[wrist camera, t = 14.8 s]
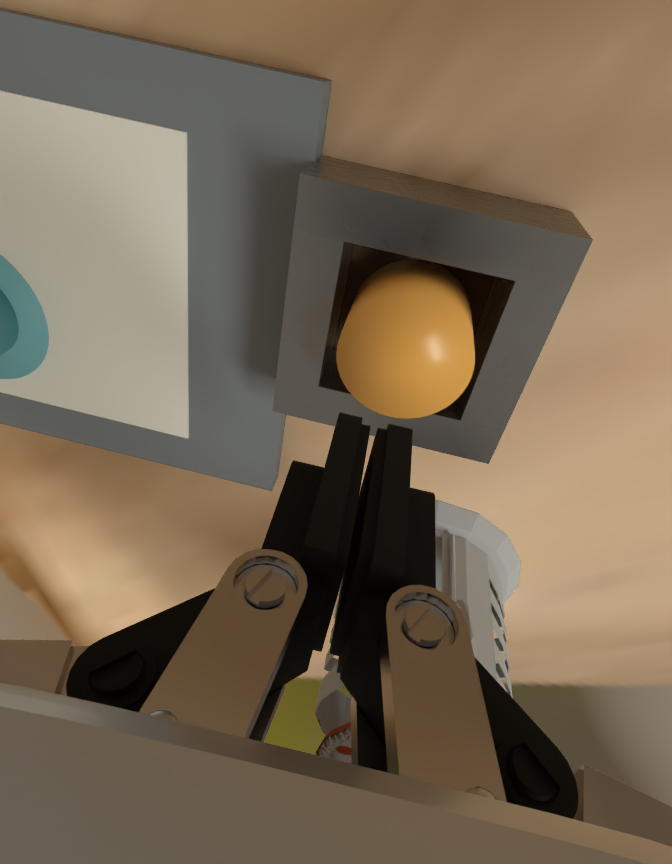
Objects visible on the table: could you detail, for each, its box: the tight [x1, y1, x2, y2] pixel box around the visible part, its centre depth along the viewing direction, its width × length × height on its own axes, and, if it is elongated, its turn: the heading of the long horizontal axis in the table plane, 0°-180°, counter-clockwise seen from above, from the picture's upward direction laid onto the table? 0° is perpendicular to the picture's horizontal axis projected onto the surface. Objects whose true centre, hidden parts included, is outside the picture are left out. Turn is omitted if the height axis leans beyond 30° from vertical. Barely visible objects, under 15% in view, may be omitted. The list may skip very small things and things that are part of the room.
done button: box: [336, 260, 475, 418], centre depth 16 cm, size 4×4×3 cm
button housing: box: [272, 156, 593, 464], centre depth 18 cm, size 8×8×3 cm
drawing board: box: [0, 8, 332, 491], centre depth 20 cm, size 20×16×1 cm
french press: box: [315, 501, 521, 764], centre depth 17 cm, size 10×12×25 cm
